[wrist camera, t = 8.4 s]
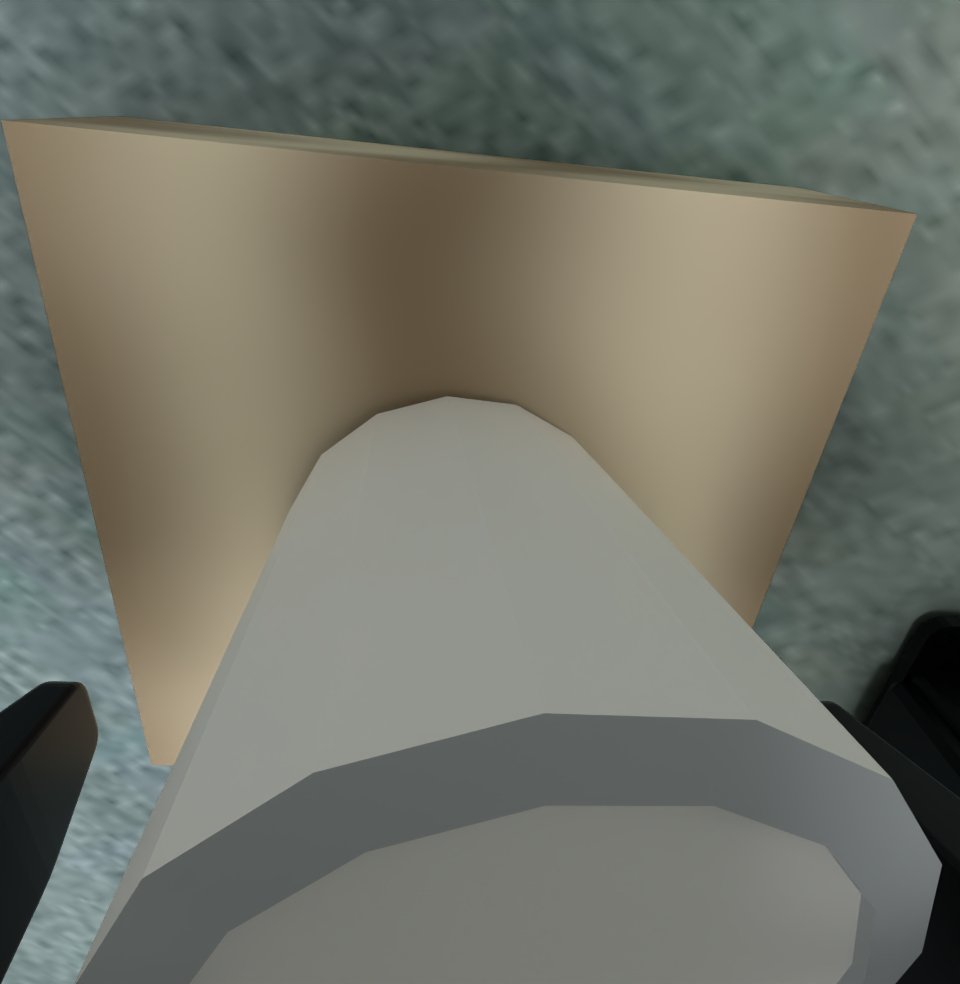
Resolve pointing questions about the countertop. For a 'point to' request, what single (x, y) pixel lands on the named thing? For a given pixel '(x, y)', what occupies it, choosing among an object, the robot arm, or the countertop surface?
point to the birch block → (420, 343)
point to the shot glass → (507, 753)
